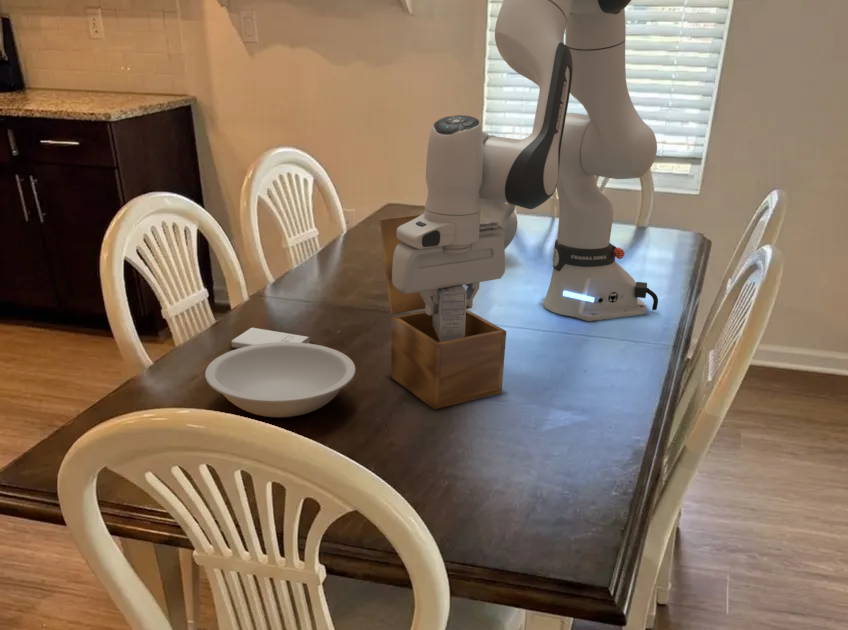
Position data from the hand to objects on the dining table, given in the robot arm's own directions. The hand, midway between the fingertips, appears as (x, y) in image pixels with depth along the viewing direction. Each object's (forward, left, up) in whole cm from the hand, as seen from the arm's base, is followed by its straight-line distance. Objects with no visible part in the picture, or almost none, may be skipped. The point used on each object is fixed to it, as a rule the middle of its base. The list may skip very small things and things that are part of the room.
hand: (448, 311), depth 143 cm
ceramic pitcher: (-26, -76, -14) cm, 81 cm away
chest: (0, 0, -14) cm, 14 cm away
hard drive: (+29, -23, -14) cm, 40 cm away
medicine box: (0, 0, -4) cm, 4 cm away
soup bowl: (+28, +4, -14) cm, 32 cm away
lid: (+3, -8, +6) cm, 11 cm away
